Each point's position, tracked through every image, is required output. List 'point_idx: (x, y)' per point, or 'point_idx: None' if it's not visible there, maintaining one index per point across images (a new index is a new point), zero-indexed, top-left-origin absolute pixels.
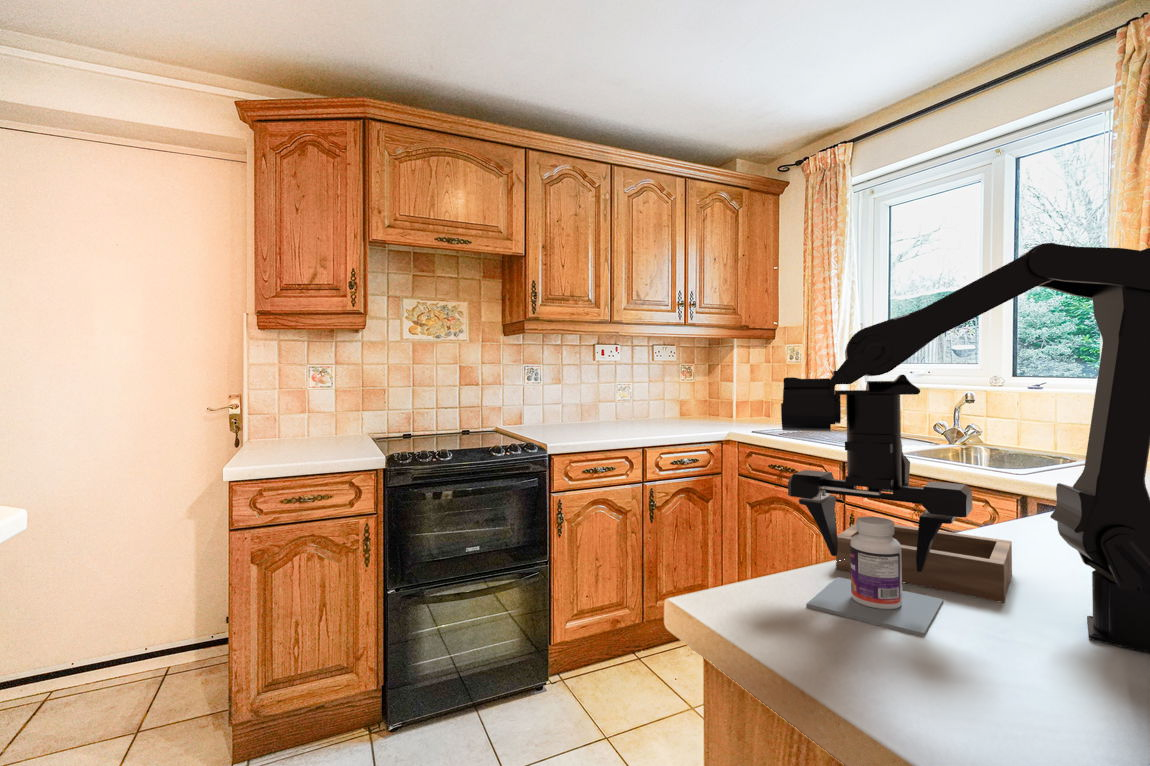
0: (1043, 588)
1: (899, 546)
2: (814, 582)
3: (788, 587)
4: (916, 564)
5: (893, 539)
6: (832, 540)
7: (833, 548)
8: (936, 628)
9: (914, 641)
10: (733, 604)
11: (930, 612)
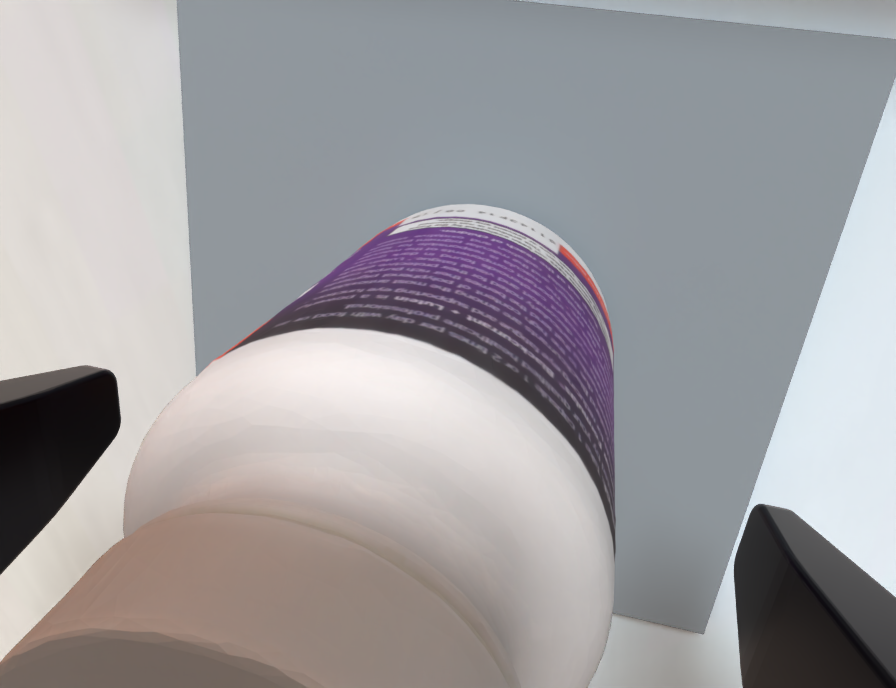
0: None
1: (596, 665)
2: (104, 120)
3: (46, 290)
4: (739, 638)
5: (525, 650)
6: (13, 546)
7: (72, 489)
8: (770, 505)
9: (657, 665)
10: (4, 585)
11: (767, 369)
